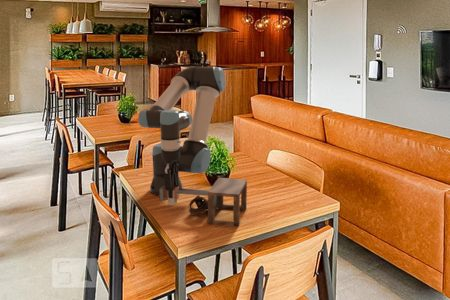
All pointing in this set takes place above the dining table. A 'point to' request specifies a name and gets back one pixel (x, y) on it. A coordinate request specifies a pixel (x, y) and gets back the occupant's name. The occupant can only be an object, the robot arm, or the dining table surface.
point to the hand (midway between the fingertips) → (172, 203)
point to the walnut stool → (227, 189)
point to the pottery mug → (198, 205)
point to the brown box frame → (186, 191)
